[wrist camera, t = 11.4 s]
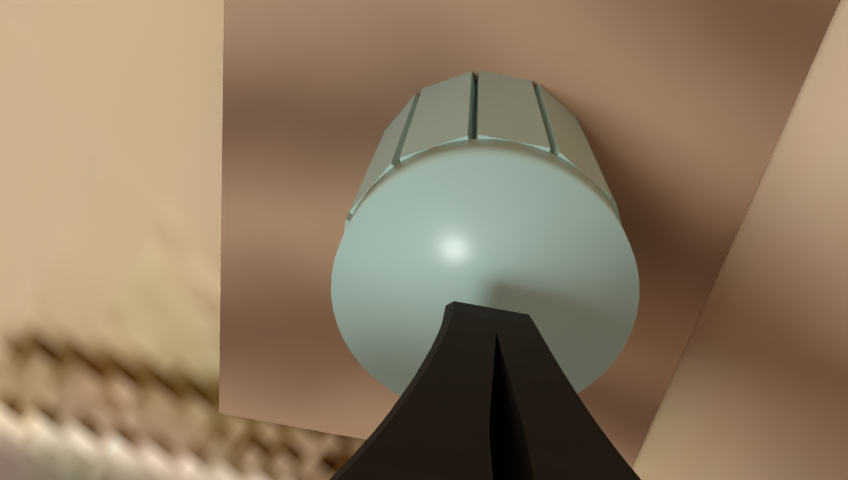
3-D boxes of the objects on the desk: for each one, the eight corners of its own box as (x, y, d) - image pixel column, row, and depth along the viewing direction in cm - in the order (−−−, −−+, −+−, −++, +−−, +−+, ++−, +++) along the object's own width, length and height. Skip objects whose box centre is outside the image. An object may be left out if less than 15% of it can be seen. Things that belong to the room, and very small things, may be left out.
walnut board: (617, 463, 23) (623, 486, 22) (229, 393, 23) (219, 413, 22) (908, -215, 13) (939, -224, 12) (245, -338, 13) (228, -356, 12)
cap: (558, 285, 18) (588, 440, 13) (366, 250, 18) (318, 391, 13) (617, 96, 16) (686, 192, 10) (393, 54, 16) (347, 129, 10)
